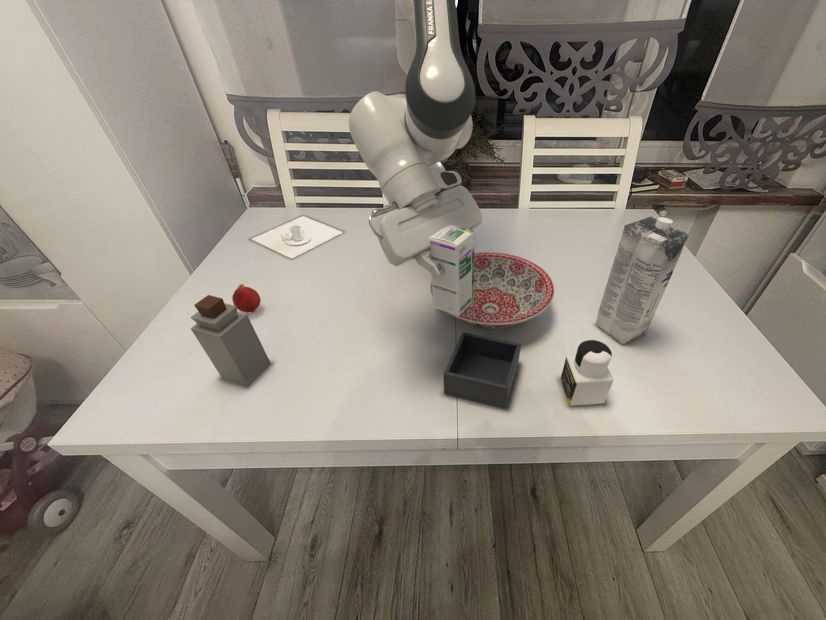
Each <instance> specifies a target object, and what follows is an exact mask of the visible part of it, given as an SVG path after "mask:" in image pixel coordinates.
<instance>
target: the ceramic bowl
mask: <svg viewBox="0 0 826 620" xmlns="http://www.w3.org/2000/svg"><path fill="white" fill-rule="evenodd" d="M474 254H475V257H474V301H473V302H472V303H471V304H470V305H469V306H468V307H467V308H466V309H465V310H464V311H463V312H462V313H461V314H460V316H456V315H453V314H451V313H448V312H446V313H447V314H448V315H451V316H452V317H454V318H456V319H458V320H459V321H461V322H463V323H465V324H467V325H470V326H473V327H476V328H480V329H486V330H487V329H488V330H501V329H507V328H511V327H514V326H517V325H519V324H522V323H524V322H527V321H530V320H532V319H534V318H536V317H537V316H540V315H541V314H542V313H544V312H545V311H546V310H547V309H548V308H549V306H550V305H551V304H552V302H553V300H554V297H555V285H554V282H553V280H552V277H551V276H550V275H549V274H548V273H547V272H546V270H545V269H543V268H542V267H540V266H539V265H538V264H536V263H535V262H533V261H531V260H529V259H526V258H524V257H522V256H518V255H513V254H509V253H505V252H504V253H503V252H494V251H493V252H491V251H490V252H488V251H487V252H485V251H484V252H474ZM429 288H430V294H431V296H432V298H433V294H432V280H430V285H429ZM489 307H491V308H494V309H495V311H493V312H487V311H486V308H489Z"/></svg>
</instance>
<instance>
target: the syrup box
mask: <svg viewBox="0 0 826 620" xmlns="http://www.w3.org/2000/svg"><path fill="white" fill-rule="evenodd" d="M475 235H476V234H475V231H474V230H469V229H466V228H463V227H459V226H454V225H449V226H447V227H445V228H443V229H441V230H440V231H438V232H437V233H435V234H434V235H432V236H431V237H429V238H428V239H429V242H430V243H431V245H432V247H431V248H429V253H430V255H429V260H431V261H432V262H433V263H435V264H436V265H437V264H439V263H440V265H441V266H442V269H443V270H444V273H443V274H442V275H440V276H439V277H437V278H433V277H432V275H431V274H430V278H431V280H432V294H433V297H432V305H433V307H434V308H435V309H438V310H440V311H442V312H445V313H447V312H448V313H447V314H449V313H451V314H453V315H456V316H460V314H461V313H462V312H463V311H464V310H465V309H466V308H467V307H468V306H469V305H470V304H471V303H472V302H473V301H474V253H475ZM431 280H430V281H431ZM432 294H431V295H432Z"/></svg>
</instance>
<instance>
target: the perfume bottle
mask: <svg viewBox="0 0 826 620" xmlns="http://www.w3.org/2000/svg"><path fill="white" fill-rule="evenodd" d="M193 306H194V307H195V309H196V310H197V312H195V313H194V314H193V315H192V316H191V317H190V319H191V320H192V321H194V322H195V323H196V324H194V325H193V326H192V327H190V331H191V332H192V334H193V335H194V337H195V338H196V340H197V341H198V343H199V344H200V346H201V348H202V349H203V351H204V353H205V354H206V355H207V357H208V358H209V361H210V362H211V363H212V365H213V367H214V368H215V369H216V371H217V373H218V374H219V376H220V377H221V378H222V379H223V380H226V381H230V382H234V383H237V384H240V385H243V386H246V387H249V386H251V385H252V384H253V383H254V382H255V381H256V380H257V379H258V378H259V377H260V376H261V375H262V373H263V372H265V371H266V370H267V369H268V367H270V366H271V364H272V363H271V361H270V359H269V357H268V355H267V352H266V351H265V349H264V346H263V344H262V343H261V341H260V338H259V336H258V334H257V332H256V330H255V328H254V326H253V324H252V322H251V319H250V318H249V315H248V313H244V312H241V311H238V309H237V306H235V305H234V304H230V303H225V302H224V299H223V298H222V297H219V296H214V295H210V294H208V295H206V296H205V297H203V298H201V299H200V300H198V302H196V303H195V304H194V305H193Z"/></svg>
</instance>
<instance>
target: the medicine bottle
mask: <svg viewBox="0 0 826 620" xmlns="http://www.w3.org/2000/svg"><path fill="white" fill-rule="evenodd" d="M612 357H613V352H612V350H611V349H610V347H609V346H608V345H607V344H606V343H604V342H602V341H600V340H596V339H587V340H584V341H582V342H581V343H579V344H578V346H577V349H576V353H575V354H572V355H566V357H565V360H564V363H563V367H562V371H561V375H560V383H561V385H562V389H563V391H564V395H565V397H566V400H567V403H568V405H569V406H571V407H572V406H586V405H587V406H589V405H603V404H605V402H606V399H607V398H608V395H609V392H610V390H611V388H612V385H613V384H614V378H613V376H612V374H611V371H610V369H609V365H610V362H611V360H612Z"/></svg>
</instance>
